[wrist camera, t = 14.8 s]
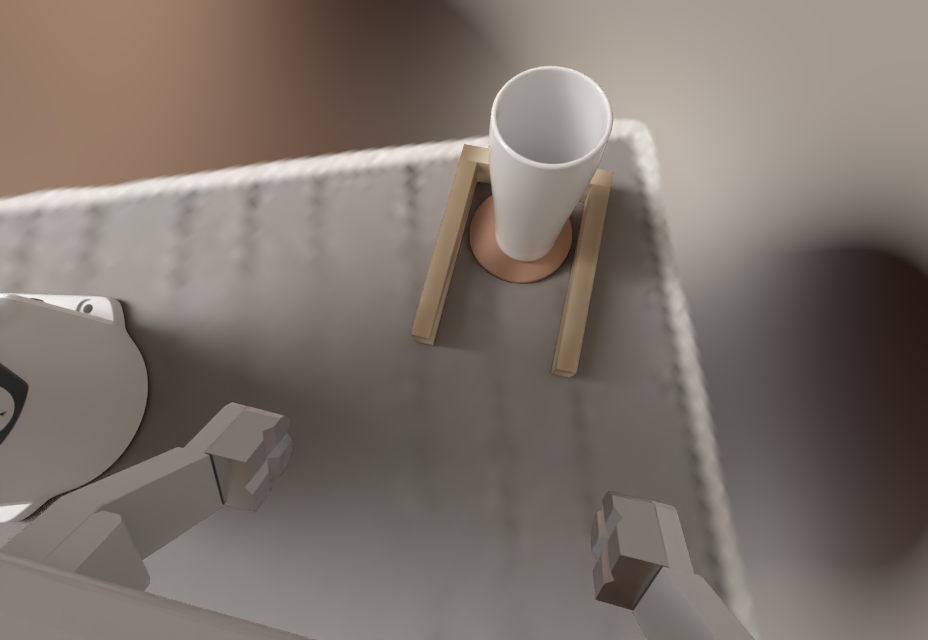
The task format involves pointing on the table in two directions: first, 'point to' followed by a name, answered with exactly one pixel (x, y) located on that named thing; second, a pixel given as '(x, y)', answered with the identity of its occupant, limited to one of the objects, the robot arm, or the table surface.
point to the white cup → (543, 154)
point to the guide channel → (507, 268)
